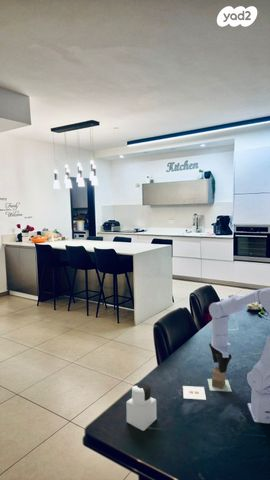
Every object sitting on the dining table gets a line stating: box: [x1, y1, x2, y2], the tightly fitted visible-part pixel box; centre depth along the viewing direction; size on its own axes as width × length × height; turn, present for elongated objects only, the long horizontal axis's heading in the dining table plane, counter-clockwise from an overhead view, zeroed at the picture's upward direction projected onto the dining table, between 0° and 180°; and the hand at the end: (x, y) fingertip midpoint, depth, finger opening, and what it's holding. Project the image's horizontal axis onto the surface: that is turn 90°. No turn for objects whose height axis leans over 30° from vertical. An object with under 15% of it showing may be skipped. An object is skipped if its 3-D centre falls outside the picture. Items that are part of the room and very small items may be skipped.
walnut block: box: [211, 366, 227, 389], centre depth 121 cm, size 4×4×6 cm
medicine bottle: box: [125, 382, 157, 432], centre depth 101 cm, size 7×7×12 cm
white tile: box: [182, 385, 207, 401], centre depth 117 cm, size 8×8×1 cm
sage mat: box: [207, 378, 233, 392], centre depth 121 cm, size 8×8×1 cm
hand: (219, 367), depth 121 cm, fingers open, 7 cm apart
